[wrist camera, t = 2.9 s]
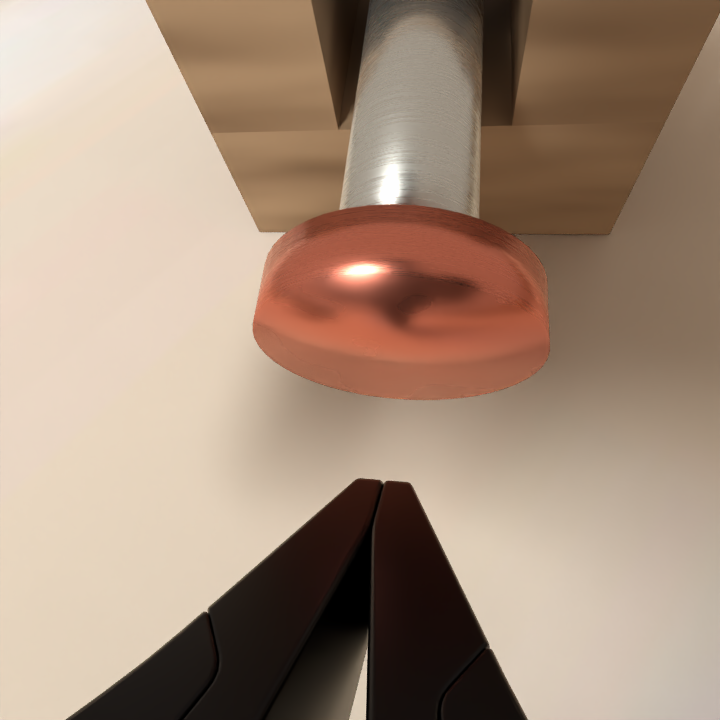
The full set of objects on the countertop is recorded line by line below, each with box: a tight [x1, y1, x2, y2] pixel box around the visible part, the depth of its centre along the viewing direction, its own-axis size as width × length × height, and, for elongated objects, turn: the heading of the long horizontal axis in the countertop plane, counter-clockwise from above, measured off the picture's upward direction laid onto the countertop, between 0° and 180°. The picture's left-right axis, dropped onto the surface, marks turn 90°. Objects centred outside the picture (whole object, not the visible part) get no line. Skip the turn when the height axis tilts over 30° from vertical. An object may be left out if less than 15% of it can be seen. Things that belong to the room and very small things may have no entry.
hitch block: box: [146, 0, 720, 234], centre depth 15 cm, size 8×12×10 cm, turn 84°
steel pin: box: [253, 0, 550, 400], centre depth 13 cm, size 16×5×5 cm, turn 174°
